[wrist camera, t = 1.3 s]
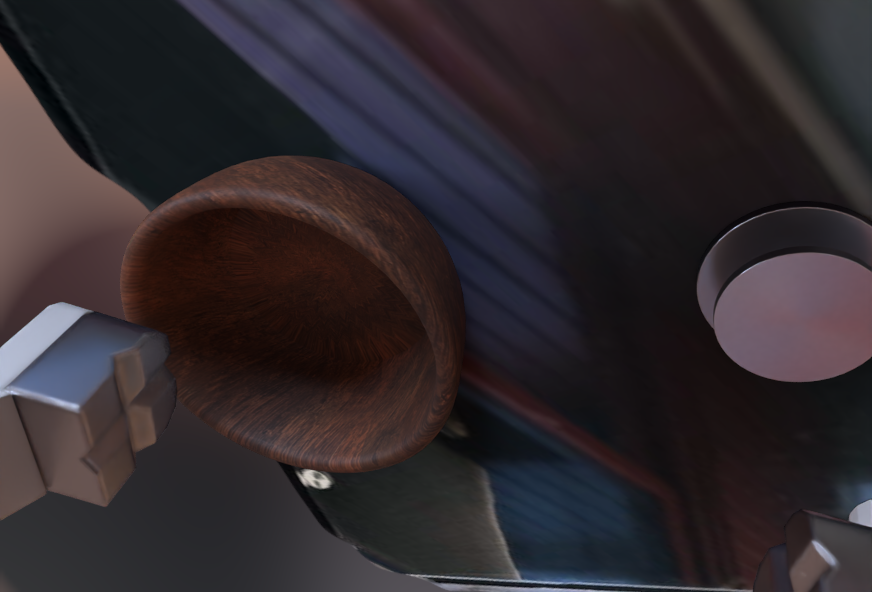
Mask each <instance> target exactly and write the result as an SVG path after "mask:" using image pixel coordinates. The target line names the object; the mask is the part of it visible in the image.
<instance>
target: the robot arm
mask: <svg viewBox="0 0 872 592" xmlns="http://www.w3.org/2000/svg"><path fill="white" fill-rule="evenodd" d="M171 354H172V353H171V348H170V343H169V339H168V335H166V334H164V333H162V332H160V331H157V330H154V329H151V328H148V327H144V326H141V325H138V324H135V323H131V322H128V321H125V320H121V319H118V318H115V317H111V316H108V315H105V314H102V313H99V312H95V311H90V310H87V309H83V308H80V307H77V306H74V305H70V304H67V303H63V302H60V303H57V304H54V305H50V306H48V307H47V308H46V309H44V310H43V311H42V312H41V313H40V314H39V315H38V316H36V317H35V318H34V319H33V320H32V321H31V322H30V323H28V324H27V325H26V326H25V327H24V328H23V329H21V330H20V331H19V332H18V333H17V334H16V335H14V336H13V337H12V338H11V339H10V340H9V341H7V342H6V343H5V344H4V345H3V346H2V347H0V520H2V519H4V518H5V517H7V516H9V515H11V514H12V513H14V512H16V511H18V510H19V509H21V508H23V507H25V506H26V505H28V504H30V503H32V502H33V501H35V500H37V499H39V498H40V497H42V496H44V495H46V493H47V491H46V490H49V491H52V492H56V493H59V494H63V495H67V496H70V497H73V498H77V499H80V500H84V501H87V502H90V503H94V504H97V505H101V506H104V507H106V506H107V505H108V504H109V502H110V501H111V500H112V499H113V497H114V496H115V494H116V493H117V492H118V491H119V489H120V488H121V487H122V486H123V484H124V483H125V482H126V480H127V479H128V478H129V476H130V475H131V474H132V473H133V471H134V470H135V469H136V455H135V452H137V451H139V450H141V449H143V448H145V447H147V446H150V445H152V444H154V443H156V441H157V440H158V439H159V437H160V436H161V435H162V433H163V432H164V430H165V429H166V428H167V426H168V424H169V421H170V419H171V416H172V414H173V412H174V409H175V407H176V399H177V384H176V378H175V376H174V375H173V374H172V373H171V371H170V370H169V369H168V368H167V366H166V365H165V364H164V362H165V361H166V360H167V359H168V357H169V356H170V355H171ZM784 532H785V540H786V543H783V544H780V545H777V546H774V547H771V548H769V549H768V551H767V553H766V554H765V556H764V558H763V559H762V561H761V563H760V564H759V567H758V571H757V575H756V578H755V582H754V585H753V592H872V527H869V526H865V525H861V524H858V523H854V522H850V521H846V520H843V519H839V518H835V517H831V516H828V515H824V514H820V513H816V512H813V511H809V510H805V509H800V510H798V511H797V512H795V513H793V514H792V516H791V517H790V518H789V520H788V521H787V523H786V524H785V526H784Z"/></svg>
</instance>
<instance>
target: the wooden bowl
mask: <svg viewBox="0 0 872 592" xmlns="http://www.w3.org/2000/svg"><path fill="white" fill-rule="evenodd" d="M120 287H121V289H120V290H121V298H122V305H123V309H124V313H125V317H126V320H127V321H128V322H131V323H135V324H138V325H141V326H144V327H148V328H151V329H154V330H157V331H160V332H162V333H164V334H166V335H168V339H169V343H170V348H171V353H172V354H171V355H170V356H169V357H168V359H167V360H166V361H165V362H164V364H165V365H166V366H167V368H168V369H169V370H170V371H171V373H172V374H173V375H174V376H175V378H176V384H177V399H178V400H179V401H180V402H181V403H182V404H183V405H184V406H185V407H186V408H188V409H189V410H190V411H191V412H192V413H193V414H194V415H196V416H197V417H198V418H200V419H201V420H202V421H203V422H204V423H206V424H207V425H209V426H210V427H212V428H213V429H214V430H216V431H217V432H219V433H221V434H222V435H224V436H225V437H227V438H228V439H230V440H232V441H234V442H236V443H238V444H239V445H241V446H243V447H246V448H247V449H249V450H251V451H254V452H256V453H258V454H261V455H263V456H266V457H268V458H271V459H274V460H276V461H279V462H282V463H286V464H289V465H293V466H296V467H301V468H306V469H311V470H318V471H325V472H338V473H355V472H366V471H372V470H378V469H382V468H385V467H389V466H392V465H395V464H397V463H400V462H402V461H404V460H406V459H408V458H410V457H412V456H414V455H415V454H417V453H418V452H419V451H421V450H422V449H424V448H425V447H426V446H427V445H428V444H429V443H430V442H431V441H432V440H433V439H434V438H435V436H436V435H437V434H438V433H439V432H440V430H441V429H442V428H443V426H444V424H445V423H446V421H447V419H448V418H449V416H450V413H451V411H452V409H453V406H454V402H455V398H456V395H457V391H458V387H459V382H460V376H461V370H462V363H463V356H464V348H465V333H466V316H465V307H464V299H463V293H462V288H461V284H460V280H459V277H458V275H457V272H456V269H455V266H454V263H453V261H452V258H451V256H450V254H449V252H448V250H447V248H446V246H445V244H444V243H443V241H442V239H441V238H440V236H439V235H438V233H437V232H436V230H435V229H434V228H433V226H432V225H431V224H430V222H429V221H428V220H427V219H426V218H425V216H424V215H423V214H422V213H421V212H420V211H419V210H418V209H417V208H416V207H415V206H414V205H413V204H412V203H411V202H410V201H409V200H408V199H407V198H405V197H404V196H403V195H402V194H401V193H400V192H398V191H397V190H395V189H394V188H392V187H391V186H390V185H388V184H387V183H385V182H383V181H382V180H380V179H378V178H377V177H375V176H373V175H371V174H369V173H366V172H364V171H362V170H360V169H357V168H355V167H352V166H349V165H346V164H343V163H339V162H336V161H333V160H328V159H323V158H318V157H309V156H275V157H266V158H261V159H256V160H251V161H247V162H243V163H240V164H237V165H234V166H231V167H228V168H226V169H223V170H221V171H219V172H217V173H215V174H212V175H210V176H208V177H206V178H204V179H202V180H200V181H198V182H197V183H195V184H193V185H191V186H190V187H188V188H186V189H184V190H183V191H181V192H179V193H178V194H176V195H174V196H173V197H171V198H170V199H168V200H167V201H165V202H164V203H163V204H161V205H160V206H158V207H157V208H156V209H155V210H153V211H152V212H151V213H150V214H149V215H148V216H147V217H146V218H145V219H144V220H143V222H142V223H141V224H140V225H139V226H138V228H137V230H136V232H135V233H134V235H133V237H132V238H131V240H130V242H129V244H128V246H127V249H126V252H125V254H124V258H123V262H122V267H121V276H120Z"/></svg>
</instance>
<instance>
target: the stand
mask: <svg viewBox="0 0 872 592" xmlns="http://www.w3.org/2000/svg"><path fill="white" fill-rule="evenodd" d="M697 298H698V303H699V306H700V308H701V311H702V313H703V315H704V317H705V319H706V320H707V321H708V323H709V324H710V325H711V327H712V328H713V329H714V330H715V334H716V337H717V340H718V342H719V344H720V346H721V347H722V349H723V350H724V351H725V353H726V354H727V355H728V356H729V357H730V358H731V359H732V360H733V361H734V362H736V363H737V364H738V365H740V366H741V367H743V368H745V369H746V370H748V371H750V372H752V373H754V374H757V375H759V376H763V377H766V378H769V379H774V380H779V381H787V382H810V381H817V380H823V379H827V378H831V377H835V376H838V375H841V374H844V373H846V372H848V371H850V370H852V369H854V368H856V367H858V366H859V365H861V364H863V363H864V362H865V361H867V360H868V359H869V358H871V357H872V222H871V221H870V220H868V219H866V218H865V217H863V216H861V215H860V214H858V213H856V212H853V211H851V210H849V209H846V208H843V207H840V206H836V205H833V204H827V203H821V202H807V201H805V202H789V203H782V204H777V205H773V206H769V207H765V208H762V209H759V210H757V211H754V212H752V213H750V214H748V215H746V216H744V217H741V218H740V219H738V220H737V221H735V222H734V223H732V224H730V225H729V226H728V227H727V228H725V229H724V230H723V231H722V232H721V233H720V234H719V235H718V236H717V237H716V238H715V239H714V240H713V241H712V243H711V244H710V245H709V247H708V248H707V249H706V251H705V253H704V255H703V257H702V259H701V262H700V265H699V268H698V273H697Z"/></svg>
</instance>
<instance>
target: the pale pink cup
mask: <svg viewBox="0 0 872 592" xmlns="http://www.w3.org/2000/svg"><path fill="white" fill-rule="evenodd" d="M849 521H850V522H854V523H858V524H861V525H865V526H869V527H872V500H868V501H866V502H864V503H862V504H860V505H858V506H856V507H855V508H854V510H853V511H852V512H851V513H850V515H849Z"/></svg>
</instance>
